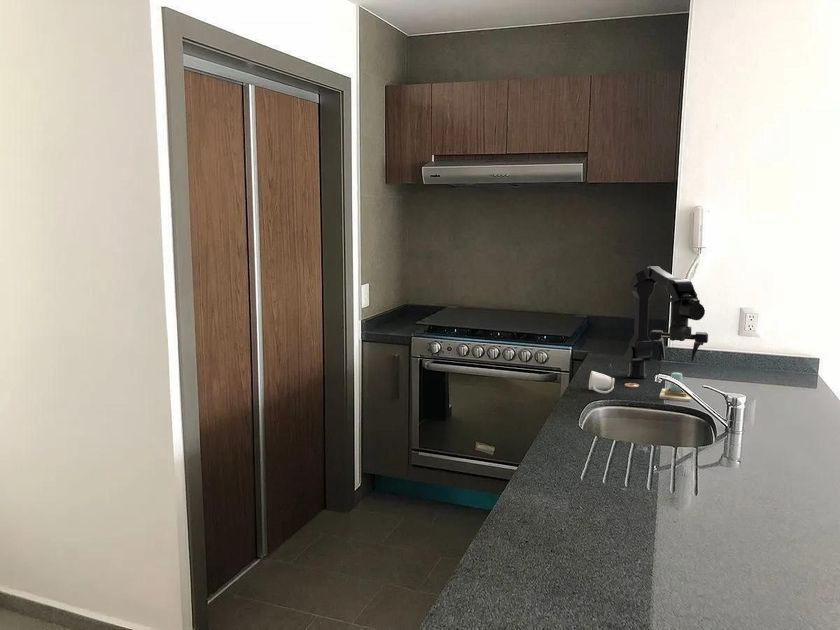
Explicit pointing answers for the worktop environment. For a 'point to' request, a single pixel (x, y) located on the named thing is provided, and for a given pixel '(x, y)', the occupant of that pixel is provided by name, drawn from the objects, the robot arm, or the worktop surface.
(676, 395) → the board
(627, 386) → the peach flat disc
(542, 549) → the worktop surface
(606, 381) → the cup
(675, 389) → the peg
